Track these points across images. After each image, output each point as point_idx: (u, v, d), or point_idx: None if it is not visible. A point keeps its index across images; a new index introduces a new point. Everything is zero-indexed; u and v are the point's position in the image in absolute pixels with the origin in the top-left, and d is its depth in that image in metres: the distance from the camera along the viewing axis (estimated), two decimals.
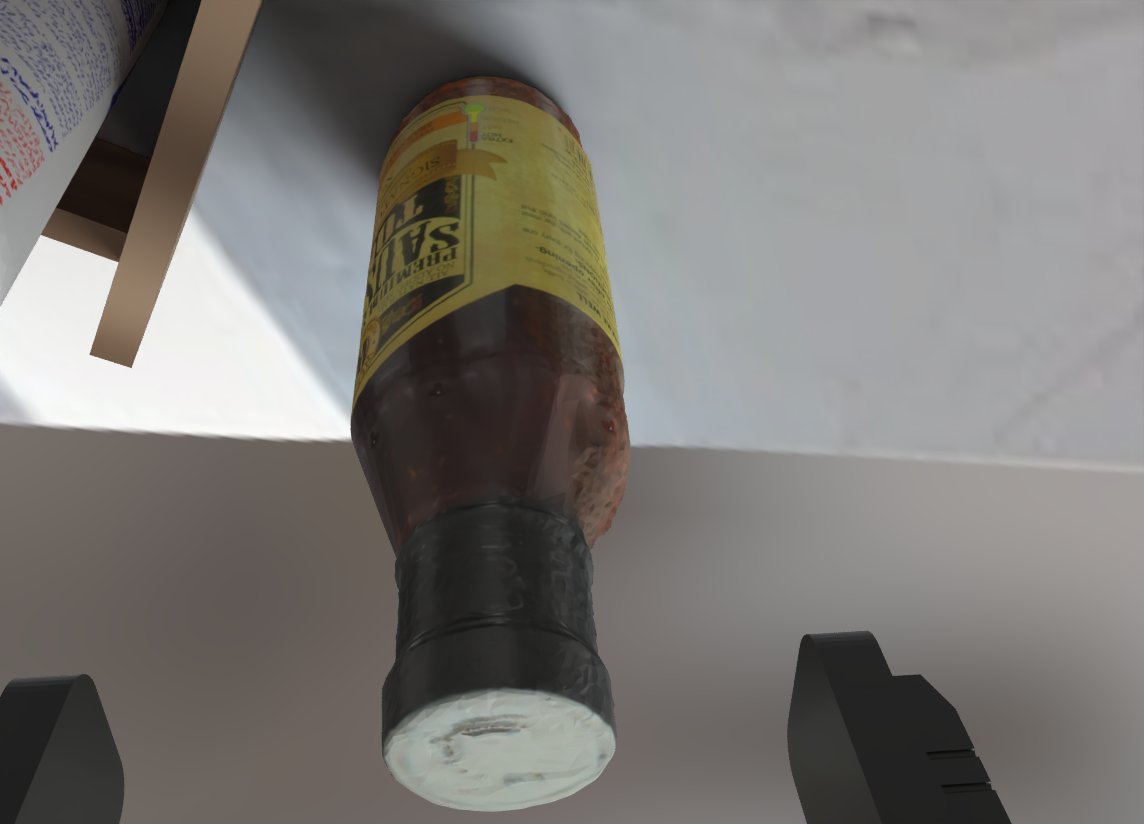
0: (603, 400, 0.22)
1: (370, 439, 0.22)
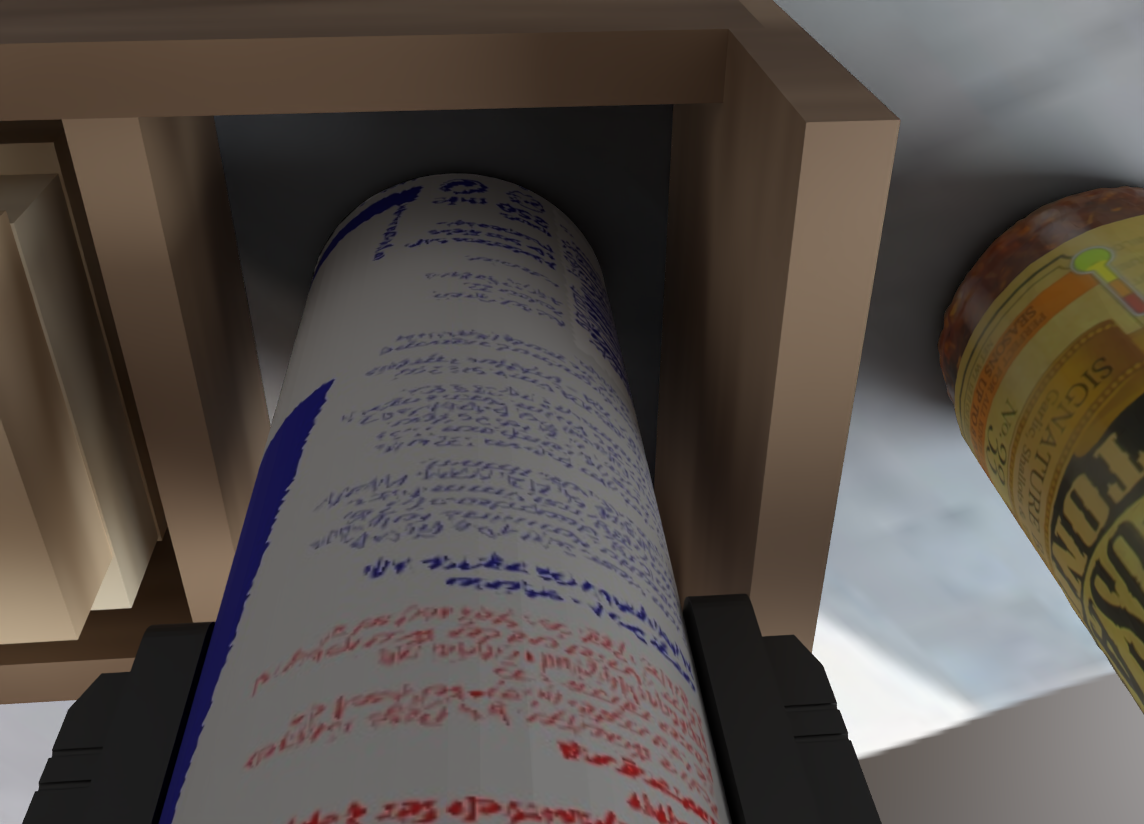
0: None
1: None
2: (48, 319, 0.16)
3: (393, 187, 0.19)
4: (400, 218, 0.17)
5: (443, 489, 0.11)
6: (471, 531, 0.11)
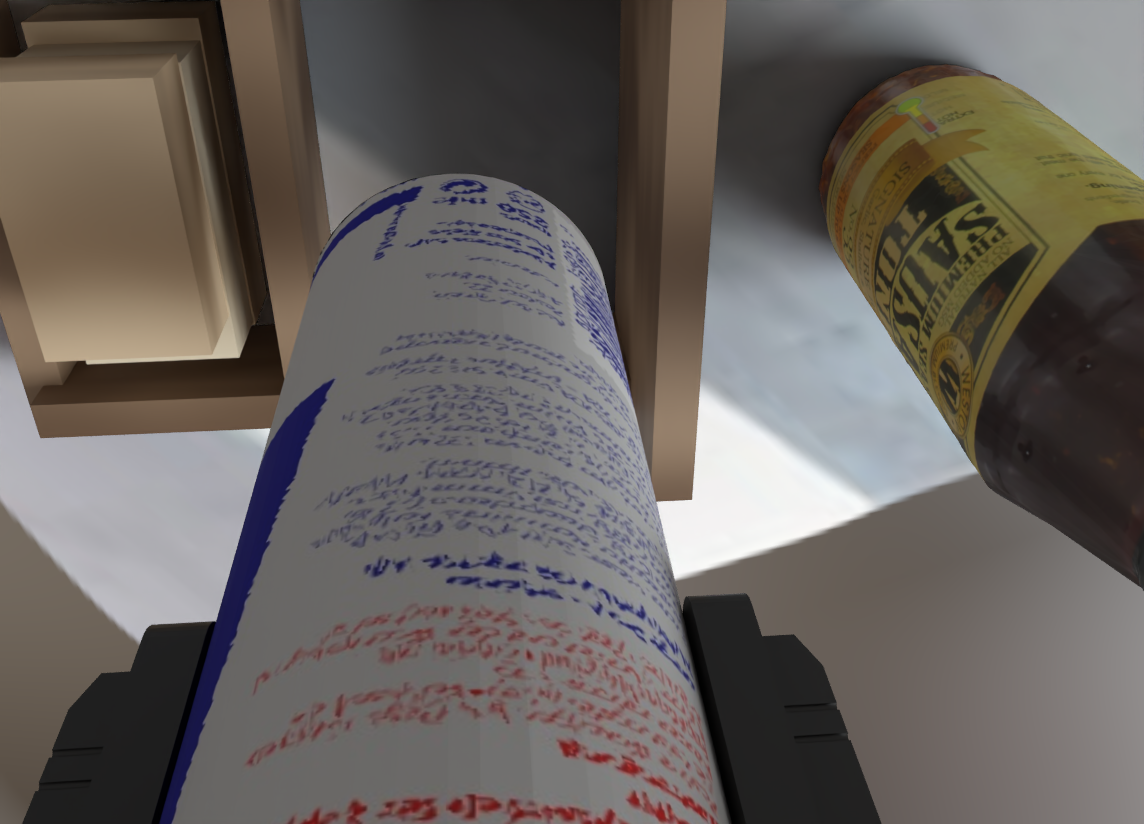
0: None
1: (1020, 452, 0.19)
2: (196, 133, 0.25)
3: (393, 186, 0.19)
4: (400, 219, 0.18)
5: (443, 488, 0.11)
6: (473, 531, 0.11)
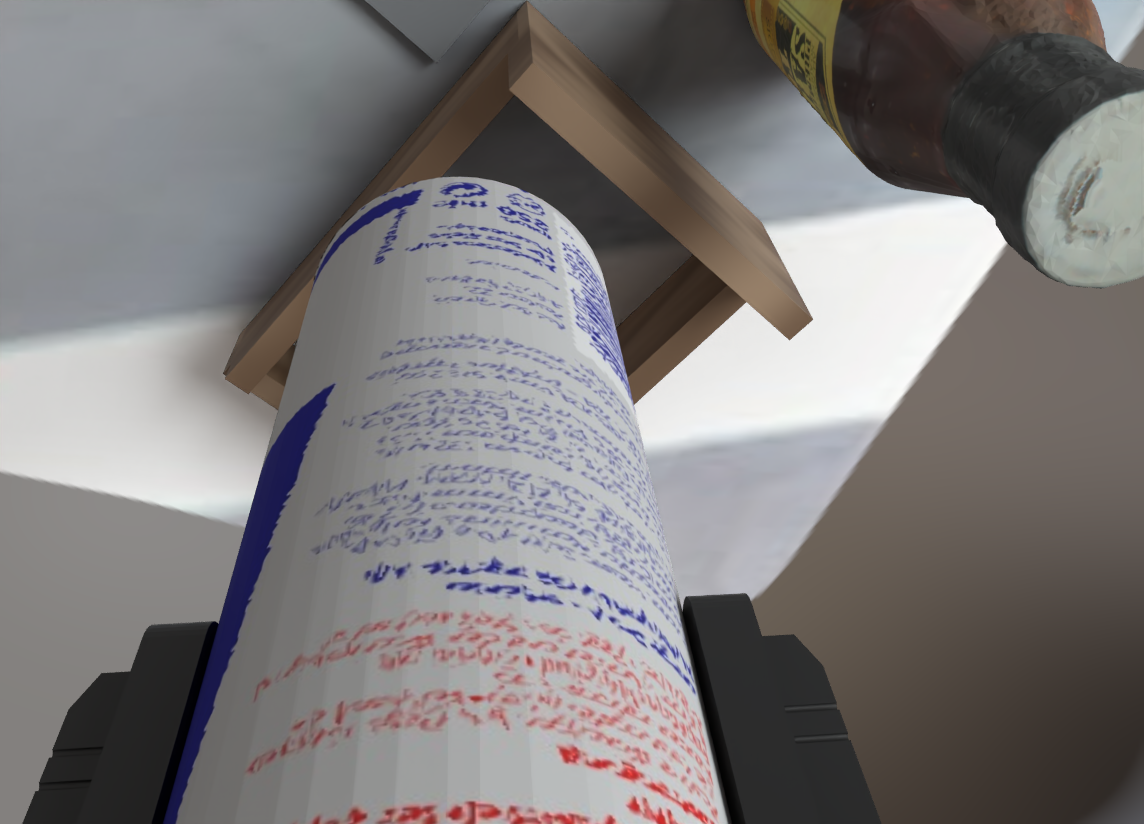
0: None
1: (894, 173, 0.26)
2: None
3: (393, 190, 0.19)
4: (400, 223, 0.18)
5: (443, 493, 0.11)
6: (472, 534, 0.11)
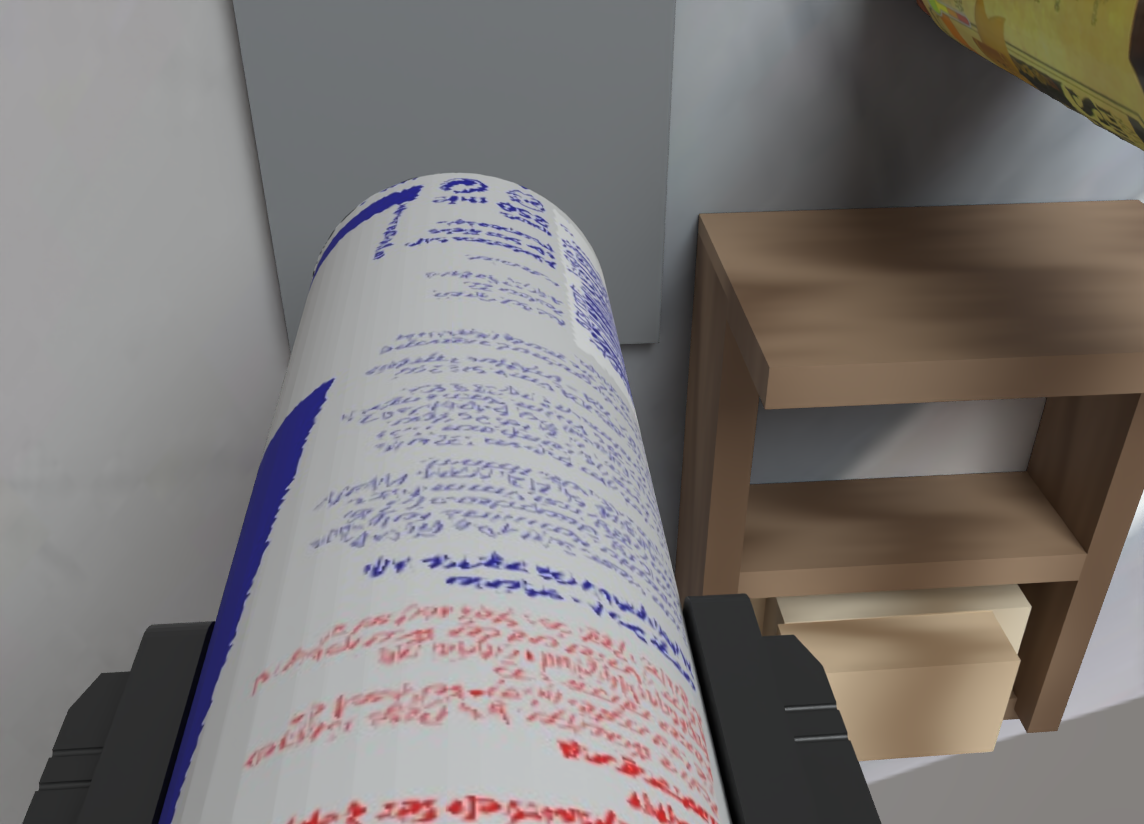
0: None
1: None
2: (838, 615, 0.32)
3: (393, 186, 0.19)
4: (401, 218, 0.17)
5: (443, 488, 0.11)
6: (472, 530, 0.11)
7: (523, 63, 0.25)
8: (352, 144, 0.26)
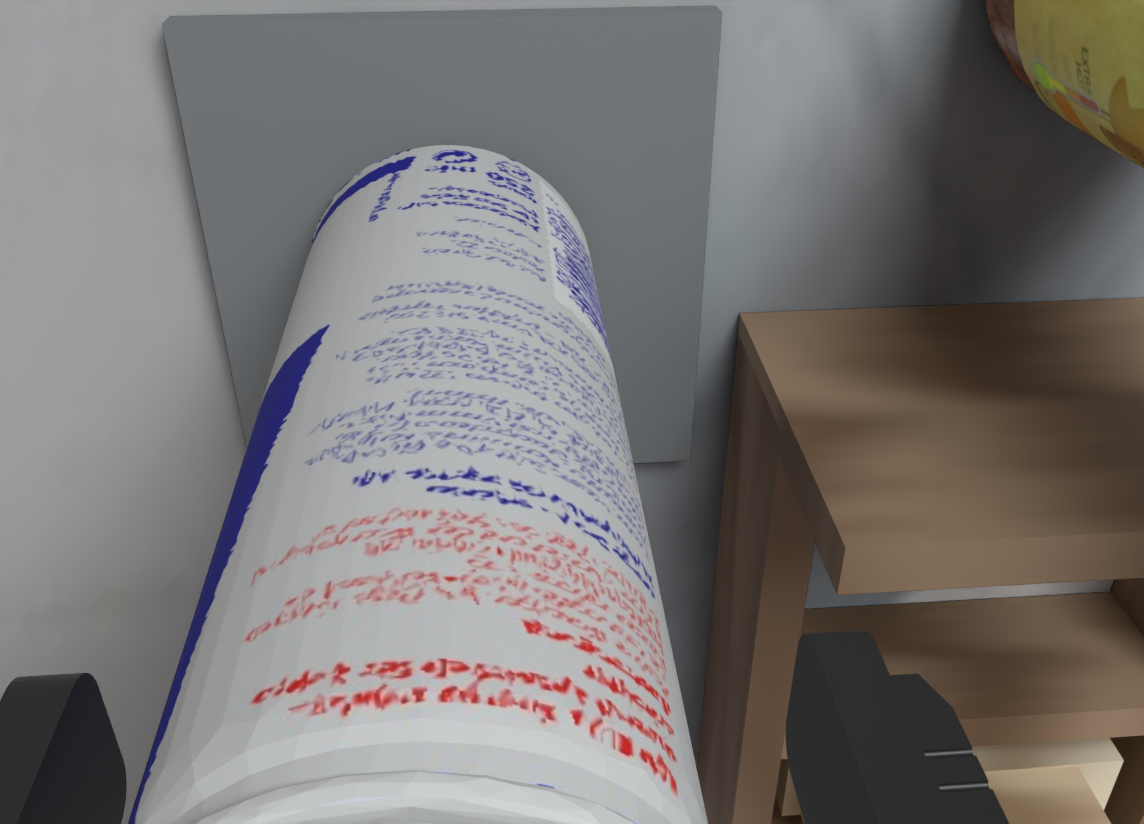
0: None
1: None
2: None
3: (388, 157, 0.20)
4: (394, 185, 0.19)
5: (426, 413, 0.12)
6: (452, 448, 0.12)
7: (530, 144, 0.21)
8: None
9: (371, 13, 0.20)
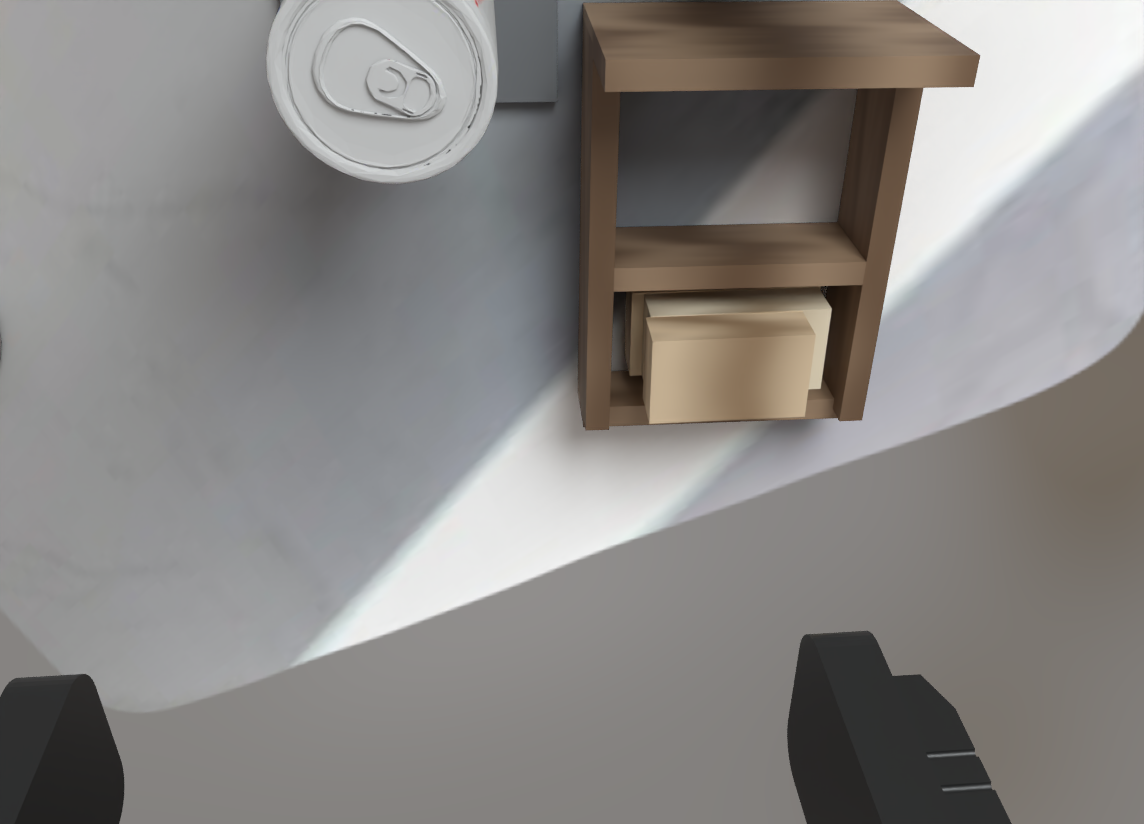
0: None
1: None
2: (690, 312, 0.43)
3: None
4: None
5: None
6: None
7: None
8: None
9: None
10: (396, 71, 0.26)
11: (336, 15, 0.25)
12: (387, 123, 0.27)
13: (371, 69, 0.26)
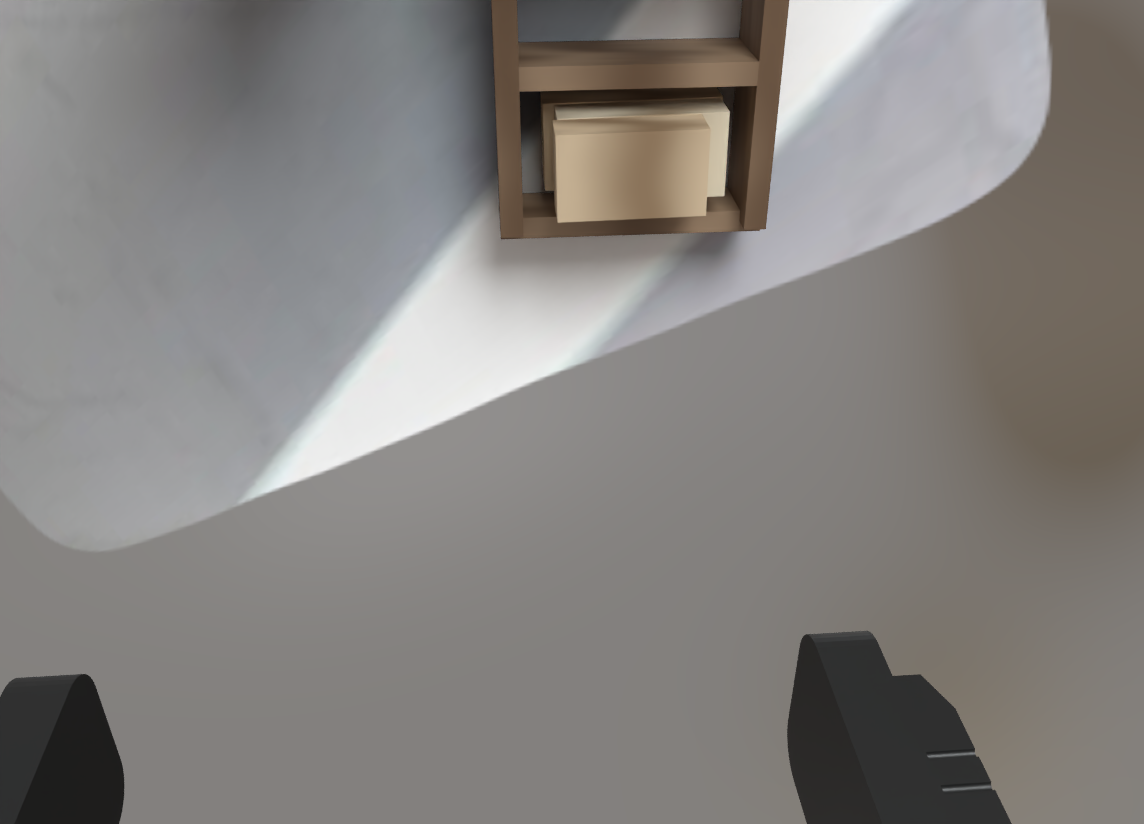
0: None
1: None
2: (595, 116, 0.46)
3: None
4: None
5: None
6: None
7: None
8: None
9: None
10: None
11: None
12: None
13: None
